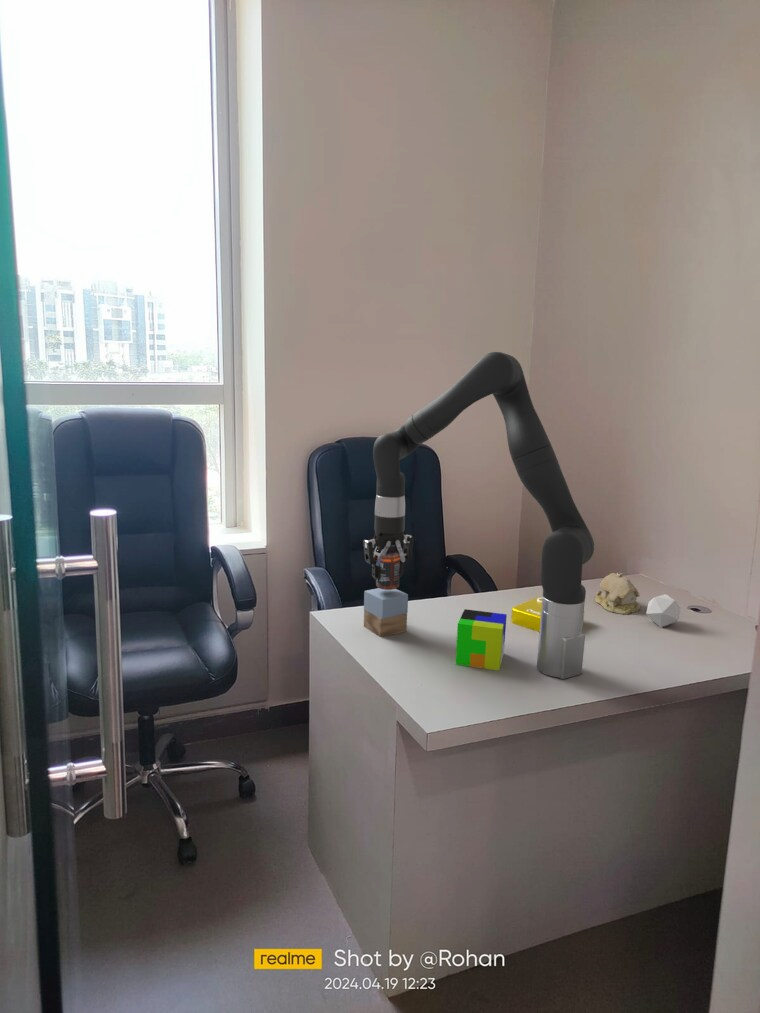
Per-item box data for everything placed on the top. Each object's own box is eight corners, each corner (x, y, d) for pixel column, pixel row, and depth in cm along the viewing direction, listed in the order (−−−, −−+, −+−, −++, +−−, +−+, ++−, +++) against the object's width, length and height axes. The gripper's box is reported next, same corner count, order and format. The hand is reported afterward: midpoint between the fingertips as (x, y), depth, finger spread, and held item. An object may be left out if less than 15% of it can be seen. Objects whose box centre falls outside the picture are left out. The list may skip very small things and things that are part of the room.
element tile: (507, 623, 194) (509, 606, 193) (537, 610, 205) (538, 593, 204) (557, 639, 184) (559, 621, 183) (586, 624, 195) (587, 607, 194)
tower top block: (407, 613, 185) (408, 594, 184) (382, 619, 180) (382, 599, 179) (388, 604, 191) (389, 585, 190) (363, 609, 186) (364, 591, 185)
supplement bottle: (399, 584, 187) (401, 541, 184) (398, 591, 181) (399, 547, 179) (376, 582, 187) (378, 540, 185) (374, 589, 181) (375, 546, 179)
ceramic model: (648, 611, 206) (652, 578, 204) (617, 616, 201) (621, 582, 199) (614, 596, 218) (617, 564, 216) (584, 600, 214) (587, 567, 212)
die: (684, 632, 192) (689, 599, 196) (663, 620, 188) (669, 586, 192) (658, 633, 199) (663, 601, 202) (637, 622, 195) (643, 589, 199)
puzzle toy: (503, 653, 173) (506, 614, 171) (499, 670, 164) (502, 629, 162) (462, 648, 176) (464, 609, 174) (455, 664, 167) (457, 623, 164)
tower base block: (406, 632, 185) (407, 613, 184) (380, 637, 181) (380, 619, 180) (389, 622, 192) (390, 604, 191) (363, 627, 188) (364, 609, 187)
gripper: (372, 518, 173) (371, 585, 177) (422, 513, 181) (419, 577, 184) (357, 512, 179) (355, 577, 183) (405, 507, 187) (403, 569, 190)
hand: (387, 577), depth 183 cm, fingers closed on supplement bottle, 6 cm apart
